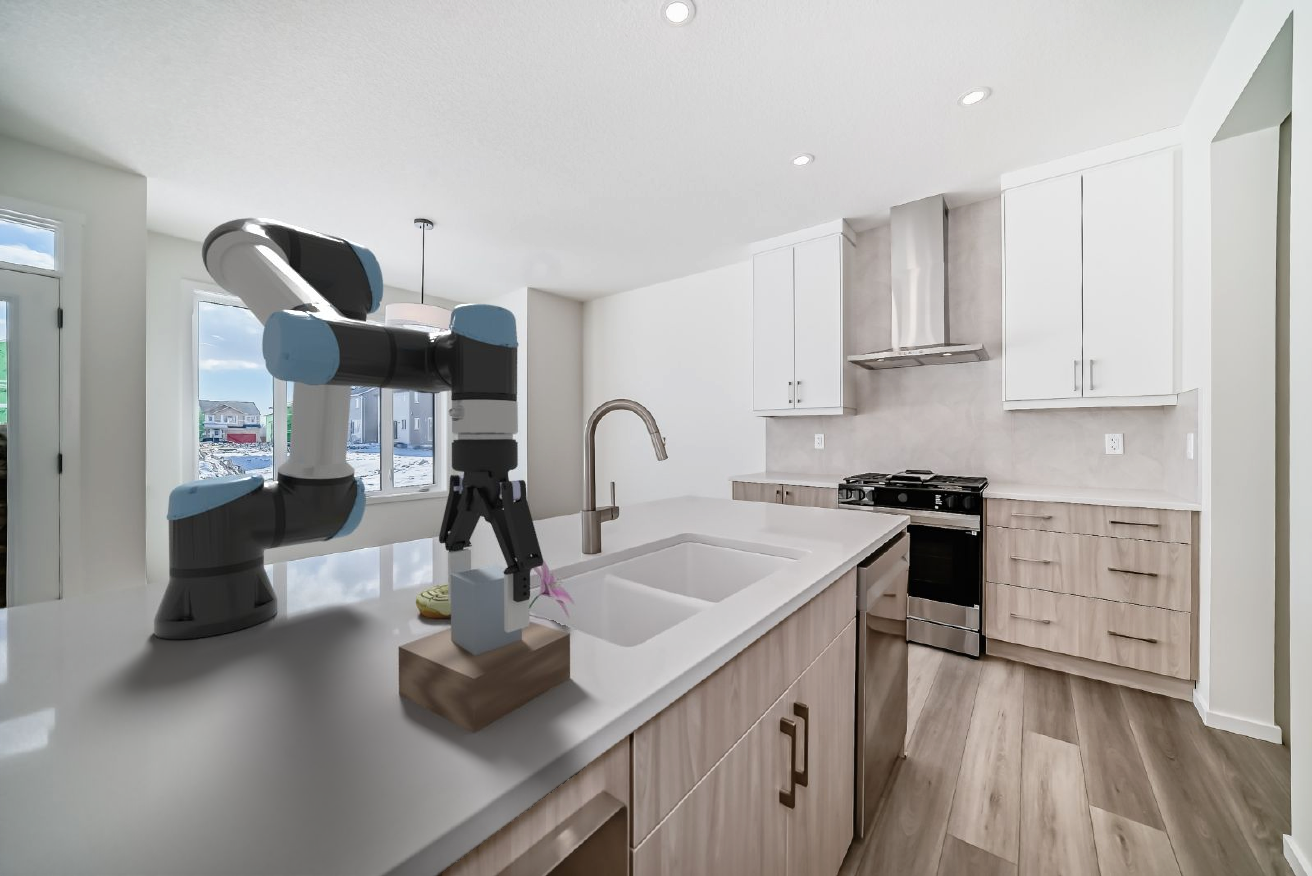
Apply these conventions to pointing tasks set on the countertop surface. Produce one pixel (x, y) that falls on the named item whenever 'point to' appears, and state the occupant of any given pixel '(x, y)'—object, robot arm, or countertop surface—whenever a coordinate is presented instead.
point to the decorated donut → (434, 602)
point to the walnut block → (482, 674)
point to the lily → (552, 588)
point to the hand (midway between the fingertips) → (486, 613)
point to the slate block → (479, 610)
